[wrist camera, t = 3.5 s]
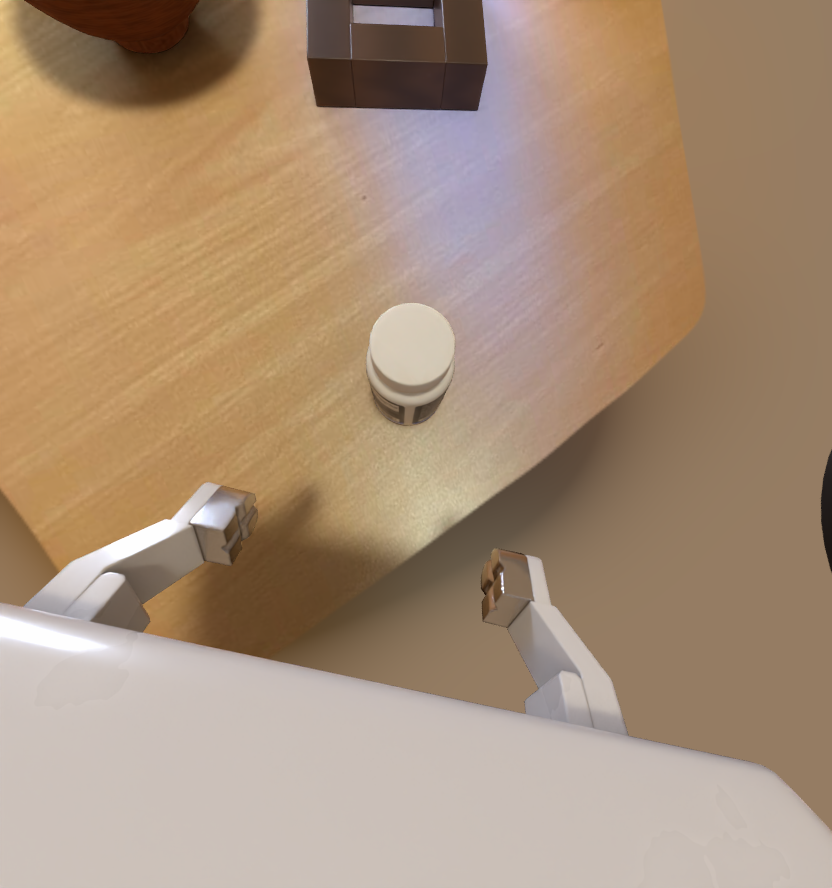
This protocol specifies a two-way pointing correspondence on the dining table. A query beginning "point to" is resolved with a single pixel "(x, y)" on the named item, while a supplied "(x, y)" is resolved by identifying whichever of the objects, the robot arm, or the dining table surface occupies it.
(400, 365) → the pill bottle
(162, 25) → the bowl
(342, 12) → the dock
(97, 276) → the dining table surface
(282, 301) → the dining table surface
